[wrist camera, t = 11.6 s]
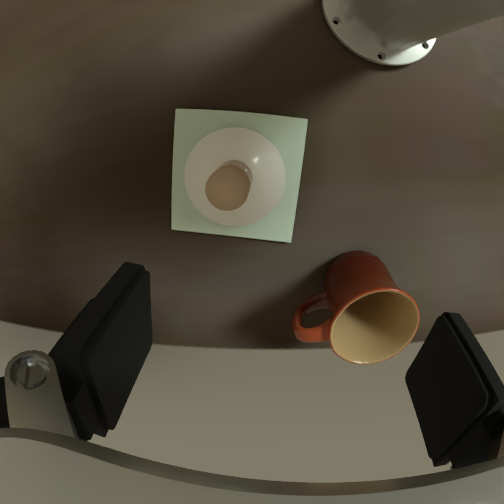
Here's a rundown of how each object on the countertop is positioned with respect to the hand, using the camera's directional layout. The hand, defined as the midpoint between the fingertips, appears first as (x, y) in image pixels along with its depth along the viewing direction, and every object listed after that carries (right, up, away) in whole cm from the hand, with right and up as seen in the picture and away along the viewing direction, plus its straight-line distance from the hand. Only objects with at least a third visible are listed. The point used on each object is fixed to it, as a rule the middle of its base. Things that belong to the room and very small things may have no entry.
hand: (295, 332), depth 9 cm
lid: (-3, +10, +22) cm, 24 cm away
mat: (-3, +10, +22) cm, 25 cm away
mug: (+9, -1, +27) cm, 28 cm away
